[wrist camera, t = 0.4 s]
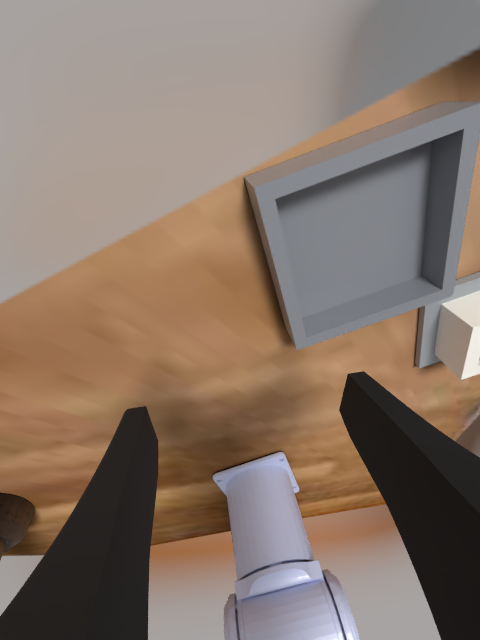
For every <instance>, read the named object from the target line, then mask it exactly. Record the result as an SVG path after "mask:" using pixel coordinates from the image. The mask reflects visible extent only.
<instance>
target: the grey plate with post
mask: <svg viewBox="0 0 480 640" xmlns="http://www.w3.org/2000/svg"><path fill="white" fill-rule="evenodd" d="M477 291H480V272H477V273H474V274H471V275H469V276H466V277H463V278H460V279H457V280H456V281H455V287H454V293H453V296H451V297H448V298H445V299H442V300H440V301H437V302H434V303H431V304H428V305H425V306H422V307H420V309H419V321H418V333H417V345H416V357H415V364H416V365H417V367H418V368H422V367H425V366H428V365H431V364H434V363H437V362H440V361H441V360H440V359H439V358H438V357H437V356H436V355H435V354H434V353H435V346H436V338H437V331H438V324H439V317H440V309H441V304H443V303H446V302H449V301H451V300H454V299H457V298H460V297H463V296H466V295H469V294H471V293H474V292H477Z"/></svg>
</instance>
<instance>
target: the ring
mask: <svg viewBox="0 0 480 640" xmlns="http://www.w3.org/2000/svg"><path fill="white" fill-rule="evenodd" d="M434 354H435V355H436V356H437V357H438V358H439V359H440V360H441V361H442V362H443V363H444V364H445V365H446V366H447V367H448V368H449V369H450V370H451V371H452V372H453V373H454V374H455V375H457V376H458V377H459V378H460V379H461V380H462V379H465V378H468V377H471V376H474V375H477V374H480V291H477V292H474V293H471V294H469V295H466V296H463V297H460V298H457V299H454V300H451V301H449V302H446V303H443V304H441V309H440V317H439V324H438V331H437V338H436V346H435V353H434Z"/></svg>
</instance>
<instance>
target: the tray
mask: <svg viewBox="0 0 480 640" xmlns="http://www.w3.org/2000/svg"><path fill="white" fill-rule="evenodd" d="M479 134H480V101H459V102H441V103H438V104H435V105H433V106H430V107H427V108H425V109H422V110H419V111H417V112H414V113H412V114H409V115H406V116H404V117H401V118H398V119H396V120H393V121H390V122H388V123H385V124H382V125H380V126H377V127H375V128H372V129H369V130H367V131H364V132H361V133H359V134H356V135H353V136H351V137H348V138H346V139H343V140H340V141H338V142H335V143H332V144H330V145H327V146H324V147H322V148H319V149H316V150H314V151H311V152H309V153H306V154H303V155H301V156H298V157H295V158H293V159H290V160H287V161H285V162H282V163H280V164H277V165H274V166H272V167H269V168H266V169H264V170H261V171H258V172H256V173H253V174H250V175H248V176H245V177H244V179H245V183H246V186H247V190H248V194H249V197H250V201H251V204H252V208H253V212H254V215H255V219H256V222H257V226H258V230H259V233H260V237H261V240H262V244H263V248H264V251H265V255H266V259H267V262H268V266H269V269H270V273H271V277H272V280H273V284H274V287H275V291H276V295H277V298H278V302H279V305H280V309H281V313H282V316H283V320H284V323H285V327H286V329H287V331H288V333H289V335H290V337H291V339H292V341H293V343H294V345H295V347H296V349H297V350H299V349H302V348H305V347H308V346H311V345H314V344H316V343H319V342H322V341H325V340H328V339H331V338H334V337H337V336H339V335H342V334H345V333H348V332H351V331H354V330H357V329H359V328H362V327H365V326H368V325H371V324H374V323H377V322H379V321H382V320H385V319H388V318H391V317H394V316H397V315H400V314H402V313H405V312H408V311H411V310H414V309H417V308H420V307H422V306H425V305H428V304H431V303H434V302H437V301H440V300H442V299H445V298H448V297H451V296H453V293H454V287H455V281H456V274H457V268H458V262H459V256H460V250H461V244H462V238H463V232H464V226H465V220H466V214H467V207H468V201H469V195H470V189H471V183H472V177H473V171H474V165H475V159H476V153H477V146H478V140H479Z"/></svg>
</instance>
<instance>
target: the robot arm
mask: <svg viewBox="0 0 480 640" xmlns="http://www.w3.org/2000/svg"><path fill="white" fill-rule="evenodd" d="M339 410H340V413H341V416H342V418H343V421H344V423H345V426H346V428H347V431H348V433H349V435H350V438H351V439H352V441H353V443H354V445H355V447H356V449H357V451H358V453H359V454H360V456H361V458H362V460H363V462H364V464H365V465H366V467H367V469H368V471H369V473H370V475H371V476H372V478H373V480H374V482H375V484H376V485H377V487H378V489H379V491H380V493H381V495H382V496H383V498H384V500H385V502H386V504H387V506H388V508H389V510H390V513H391V515H392V517H393V519H394V521H395V524H396V526H397V528H398V531H399V533H400V535H401V538H402V540H403V542H404V545H405V547H406V549H407V552H408V554H409V557H410V559H411V561H412V564H413V566H414V569H415V571H416V573H417V576H418V579H419V581H420V584H421V586H422V589H423V591H424V594H425V597H426V599H427V602H428V604H429V607H430V609H431V612H432V614H433V618H434V620H435V623H436V625H437V629H438V632H439V634H440V637H441V640H480V458H479V457H478V456H476V455H475V454H473V453H471V452H469V451H468V450H467V449H465V448H464V447H462V446H461V445H459V444H458V443H456V442H455V441H454V440H452V439H451V438H449V437H448V436H446V435H445V434H444V433H442V432H441V431H439V430H438V429H436V428H435V427H434V426H432V425H431V424H430V423H428V422H427V421H426V420H424V419H423V418H422V417H420V416H419V415H418V414H416V413H415V412H414V411H413V410H411V409H410V408H409V407H407V406H406V405H405V404H404V403H402V402H401V401H400V400H399V399H397V398H396V397H395V396H394V395H392V394H391V393H390V392H389V391H387V390H386V389H385V388H384V387H382V386H381V385H380V384H379V383H378V382H376V381H375V380H374V379H373V378H371V377H370V376H369V375H368V374H366V373H365V372H364V371H363V372H357V373H351V374H348V376H347V380H346V384H345V388H344V392H343V397H342V401H341V405H340V409H339ZM157 479H158V439H157V437H156V434H155V431H154V428H153V425H152V422H151V419H150V417H149V414H148V411H147V408H146V406H144V407H138V408H132V409H127V410H126V411H125V413H124V415H123V417H122V419H121V422H120V424H119V426H118V428H117V430H116V433H115V435H114V437H113V439H112V441H111V443H110V445H109V447H108V449H107V451H106V453H105V455H104V457H103V459H102V461H101V463H100V464H99V466H98V468H97V470H96V472H95V474H94V476H93V478H92V479H91V481H90V483H89V485H88V486H87V488H86V490H85V492H84V493H83V495H82V497H81V498H80V500H79V502H78V504H77V505H76V507H75V509H74V510H73V512H72V514H71V515H70V517H69V519H68V520H67V522H66V523H65V525H64V526H63V528H62V530H61V531H60V533H59V534H58V536H57V537H56V539H55V540H54V542H53V543H52V545H51V546H50V548H49V549H48V551H47V552H46V554H45V555H44V557H43V558H42V560H41V561H40V563H39V564H38V565H37V567H36V568H35V570H34V571H33V573H32V574H31V575H30V577H29V578H28V579H27V581H26V582H25V584H24V585H23V587H22V588H21V589H20V591H19V592H18V593H17V595H16V596H15V598H14V599H13V600H12V602H11V603H10V604H9V606H8V607H7V608H6V610H5V611H4V612H3V614H2V615H1V616H0V640H148V590H149V589H148V587H149V558H150V545H151V536H152V526H153V517H154V508H155V498H156V489H157ZM213 480H214V481H215V483H216V484H217V485H218V486H219V488H220V489H221V490H222V491H223V493H224V494H225V495H226V496H227V502H228V510H229V518H230V526H231V533H232V542H233V550H234V557H235V566H236V573H237V581H235V590H236V594H230V595H229V597H228V601H227V603H226V605H225V607H224V634H225V640H360V639H359V635H358V631H357V628H356V625H355V622H354V619H353V615H352V612H351V609H350V607H349V604H348V601H347V598H346V596H345V593H344V591H343V589H342V587H341V584H340V582H339V580H338V579H337V578H336V577H335V576H334V575H333V574H331V572H330V571H328V570H327V569H326V570H321V567H320V564H319V561H318V560H314V556H313V553H312V550H311V546H310V544H309V540H308V537H307V533H306V530H305V527H304V524H303V520H302V517H301V513H300V510H299V507H298V503H297V500H296V497H295V494H294V493H296V492H298V491H299V487H298V484H297V482H296V480H295V477H294V475H293V473H292V470H291V468H290V466H289V463H288V461H287V459H286V456H285V454H284V452H278V453H275V454H272V455H269V456H266V457H263V458H260V459H257V460H254V461H251V462H248V463H245V464H242V465H239V466H236V467H233V468H230V469H227V470H224V471H221V472H218V473H215V474H214V475H213Z"/></svg>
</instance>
